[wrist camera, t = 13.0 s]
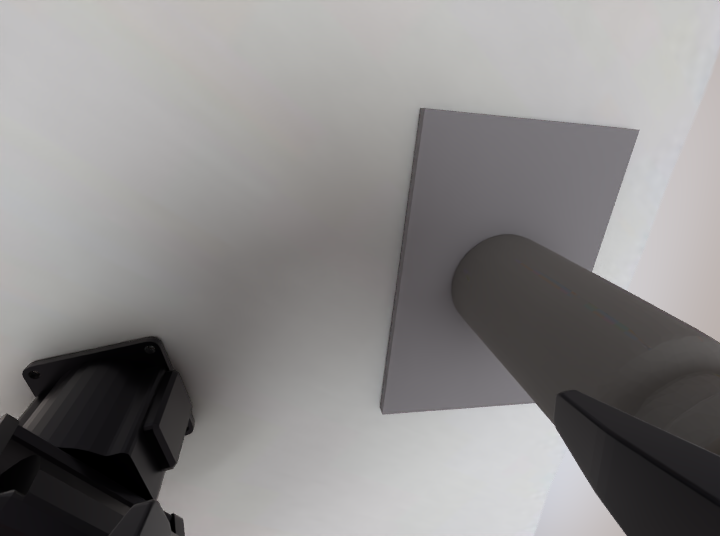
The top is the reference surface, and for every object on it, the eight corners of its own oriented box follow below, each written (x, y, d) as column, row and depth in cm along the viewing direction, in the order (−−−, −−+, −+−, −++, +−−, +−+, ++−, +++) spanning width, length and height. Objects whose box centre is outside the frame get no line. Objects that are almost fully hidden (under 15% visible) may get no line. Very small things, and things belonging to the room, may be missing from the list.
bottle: (452, 238, 21) (776, 487, 7) (551, 227, 22) (998, 431, 8) (447, 331, 23) (686, 651, 10) (536, 318, 24) (868, 593, 11)
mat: (543, 396, 28) (548, 401, 27) (380, 407, 25) (382, 414, 25) (630, 129, 21) (639, 129, 21) (420, 108, 19) (424, 108, 18)
